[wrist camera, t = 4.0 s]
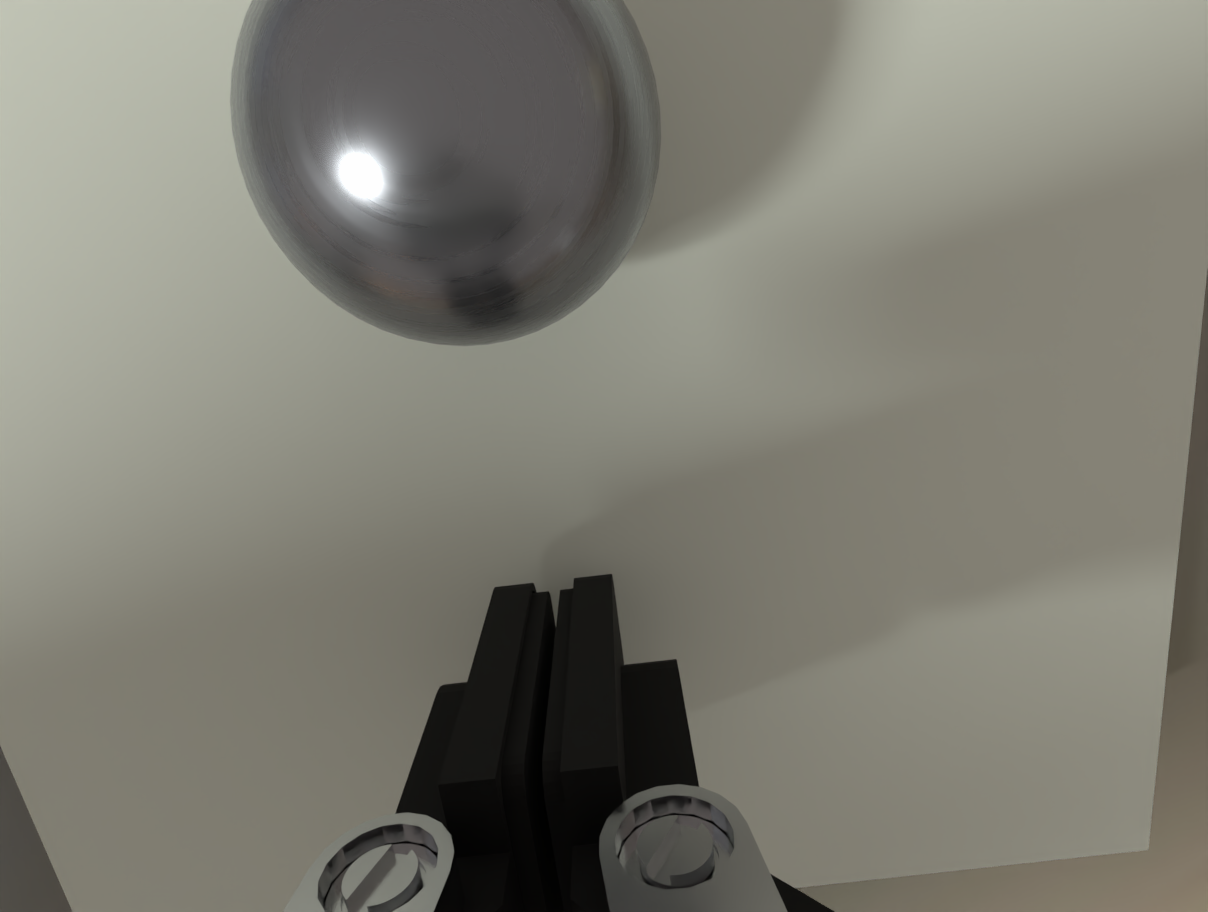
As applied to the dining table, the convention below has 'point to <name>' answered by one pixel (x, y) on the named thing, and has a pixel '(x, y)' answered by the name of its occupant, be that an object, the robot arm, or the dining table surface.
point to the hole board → (615, 446)
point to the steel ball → (448, 154)
